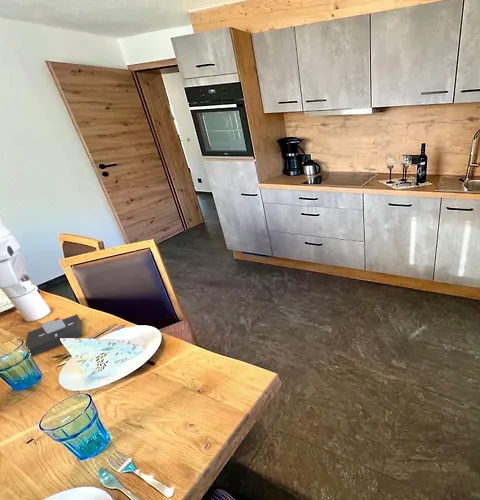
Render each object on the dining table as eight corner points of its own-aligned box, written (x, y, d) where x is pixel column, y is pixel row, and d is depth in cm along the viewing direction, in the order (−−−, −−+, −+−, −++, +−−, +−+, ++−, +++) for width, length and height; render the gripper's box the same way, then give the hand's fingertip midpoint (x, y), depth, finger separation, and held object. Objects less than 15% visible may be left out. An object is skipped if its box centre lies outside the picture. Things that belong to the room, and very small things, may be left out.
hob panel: (29, 357, 92) (24, 350, 90) (32, 338, 99) (27, 331, 98) (82, 336, 99) (77, 329, 97) (81, 320, 106) (76, 313, 105)
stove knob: (47, 334, 96) (41, 325, 94) (47, 331, 97) (41, 323, 96) (65, 327, 99) (59, 319, 97) (65, 324, 100) (59, 316, 98)
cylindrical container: (50, 306, 115) (12, 251, 103) (51, 314, 110) (11, 257, 98) (25, 315, 111) (-18, 259, 99) (25, 324, 106) (-20, 266, 94)
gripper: (-14, 239, 87) (14, 277, 94) (-29, 264, 74) (5, 306, 80) (16, 232, 91) (40, 269, 97) (6, 255, 77) (36, 296, 84)
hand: (24, 286), depth 89 cm, fingers open, 8 cm apart
